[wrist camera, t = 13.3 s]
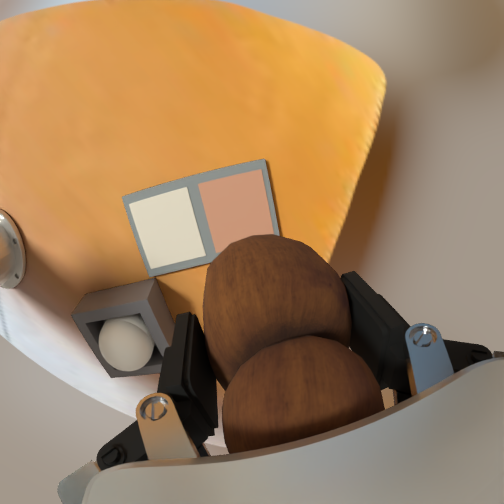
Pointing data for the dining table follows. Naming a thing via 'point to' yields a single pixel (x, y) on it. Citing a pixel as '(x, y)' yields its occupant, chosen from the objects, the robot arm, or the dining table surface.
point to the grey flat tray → (200, 215)
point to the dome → (126, 342)
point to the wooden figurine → (282, 345)
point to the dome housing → (122, 304)
